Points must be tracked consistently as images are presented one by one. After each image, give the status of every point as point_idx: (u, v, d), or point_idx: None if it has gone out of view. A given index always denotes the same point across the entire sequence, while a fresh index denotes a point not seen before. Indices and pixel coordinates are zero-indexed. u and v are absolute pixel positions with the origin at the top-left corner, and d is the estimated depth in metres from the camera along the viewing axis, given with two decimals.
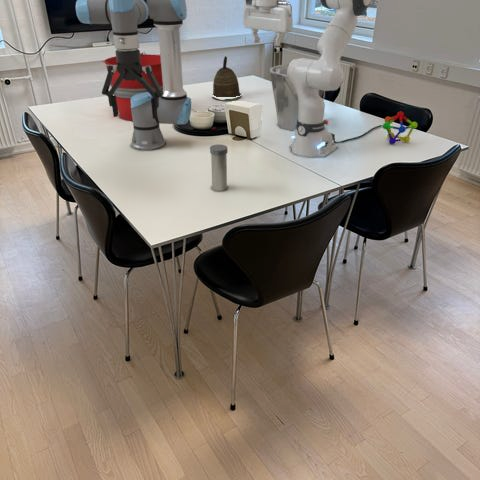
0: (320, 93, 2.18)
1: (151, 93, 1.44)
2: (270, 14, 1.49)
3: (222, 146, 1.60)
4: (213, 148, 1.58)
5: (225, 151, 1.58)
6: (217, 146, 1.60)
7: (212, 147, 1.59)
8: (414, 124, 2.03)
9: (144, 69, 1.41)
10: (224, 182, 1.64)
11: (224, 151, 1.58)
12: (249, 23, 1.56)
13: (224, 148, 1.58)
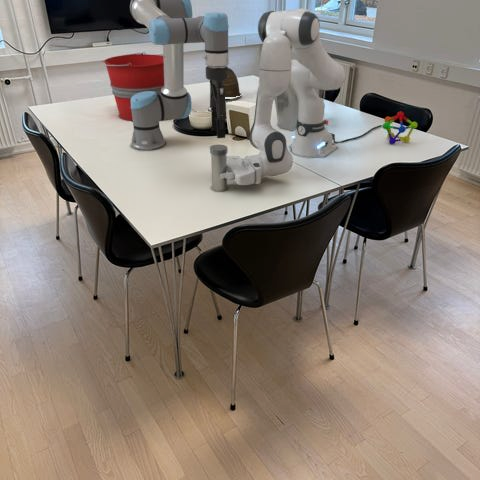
0: (320, 93, 2.18)
1: (217, 113, 1.48)
2: None
3: (222, 146, 1.60)
4: (213, 148, 1.58)
5: (225, 151, 1.58)
6: (217, 146, 1.60)
7: (212, 147, 1.59)
8: (414, 124, 2.03)
9: None
10: (224, 182, 1.64)
11: (224, 151, 1.58)
12: None
13: (224, 148, 1.58)
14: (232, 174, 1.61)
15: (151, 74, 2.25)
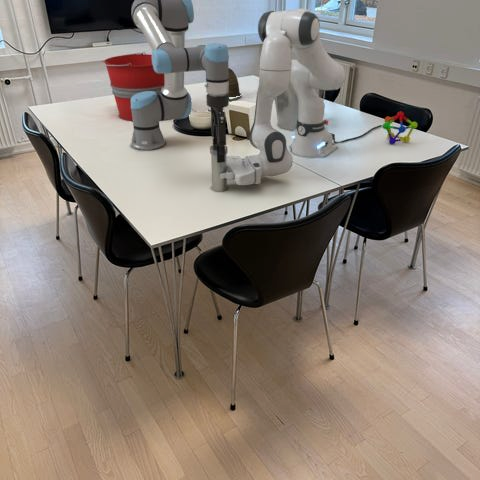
0: (320, 93, 2.18)
1: (217, 139, 1.53)
2: None
3: None
4: (213, 148, 1.58)
5: (225, 151, 1.58)
6: None
7: (212, 147, 1.59)
8: (414, 124, 2.03)
9: None
10: (224, 182, 1.64)
11: None
12: None
13: None
14: (232, 174, 1.61)
15: (151, 74, 2.25)
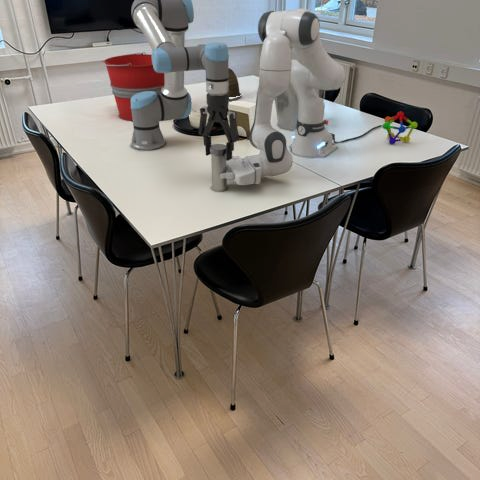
0: (320, 93, 2.18)
1: (227, 137, 1.54)
2: None
3: (214, 145, 1.60)
4: (222, 148, 1.58)
5: None
6: (216, 147, 1.58)
7: (220, 148, 1.57)
8: (414, 124, 2.03)
9: (229, 114, 1.50)
10: (224, 182, 1.64)
11: None
12: None
13: (219, 144, 1.61)
14: (232, 174, 1.61)
15: (151, 74, 2.25)
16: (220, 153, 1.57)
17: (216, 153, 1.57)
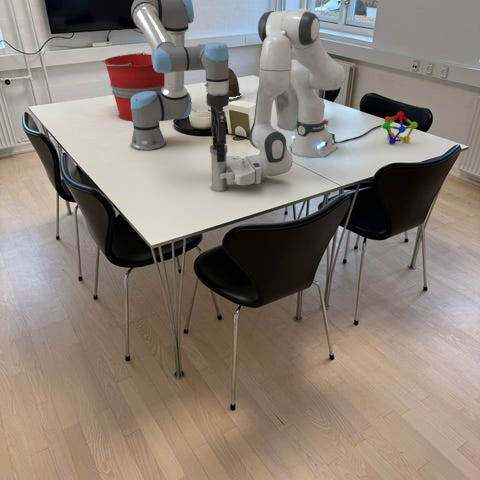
0: (320, 93, 2.18)
1: (217, 139, 1.53)
2: None
3: (214, 145, 1.60)
4: None
5: None
6: (216, 147, 1.58)
7: None
8: (414, 124, 2.03)
9: None
10: (224, 182, 1.64)
11: None
12: None
13: None
14: (232, 174, 1.61)
15: (151, 74, 2.25)
16: None
17: (216, 153, 1.57)
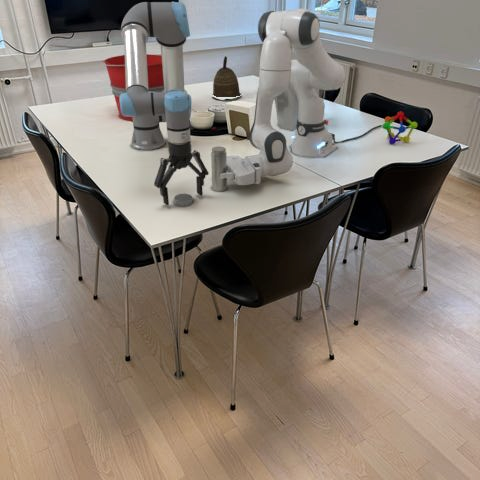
0: (320, 93, 2.18)
1: (200, 174, 1.55)
2: None
3: (181, 199, 1.55)
4: (185, 194, 1.58)
5: (174, 199, 1.57)
6: (185, 198, 1.56)
7: (188, 195, 1.58)
8: (414, 124, 2.03)
9: (194, 155, 1.51)
10: (224, 182, 1.64)
11: None
12: None
13: (176, 198, 1.56)
14: (232, 174, 1.61)
15: (151, 74, 2.25)
16: None
17: None
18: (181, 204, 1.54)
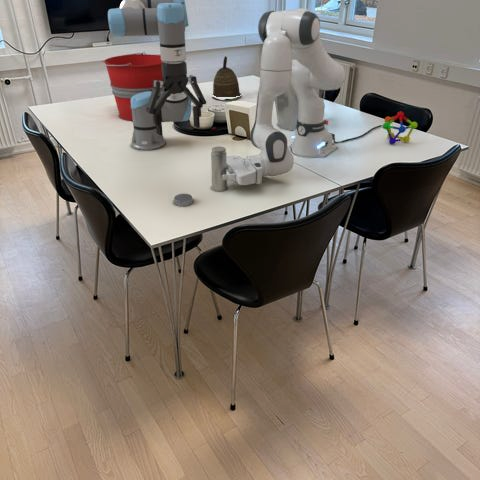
0: (320, 93, 2.18)
1: (197, 102, 1.42)
2: None
3: (181, 199, 1.55)
4: (185, 194, 1.58)
5: (174, 199, 1.57)
6: (185, 198, 1.56)
7: (188, 195, 1.58)
8: (414, 124, 2.03)
9: (190, 79, 1.38)
10: (224, 182, 1.64)
11: None
12: None
13: (176, 198, 1.56)
14: (234, 175, 1.60)
15: (151, 74, 2.25)
16: None
17: None
18: (181, 204, 1.54)
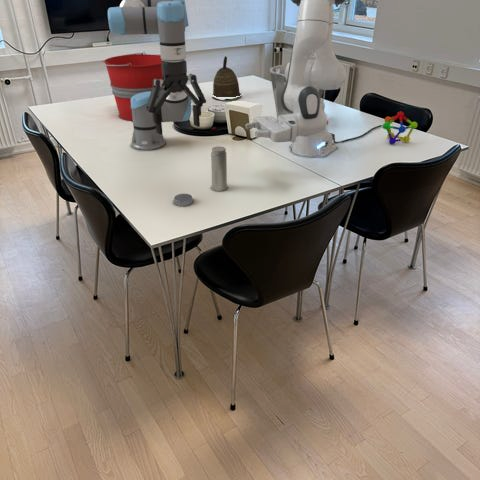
0: (320, 93, 2.18)
1: (197, 101, 1.42)
2: None
3: (181, 199, 1.55)
4: (185, 194, 1.58)
5: (174, 199, 1.57)
6: (185, 198, 1.56)
7: (188, 195, 1.58)
8: (414, 124, 2.03)
9: (190, 78, 1.38)
10: (224, 182, 1.64)
11: None
12: None
13: (176, 198, 1.56)
14: (269, 132, 1.56)
15: (151, 74, 2.25)
16: None
17: None
18: (181, 204, 1.54)
